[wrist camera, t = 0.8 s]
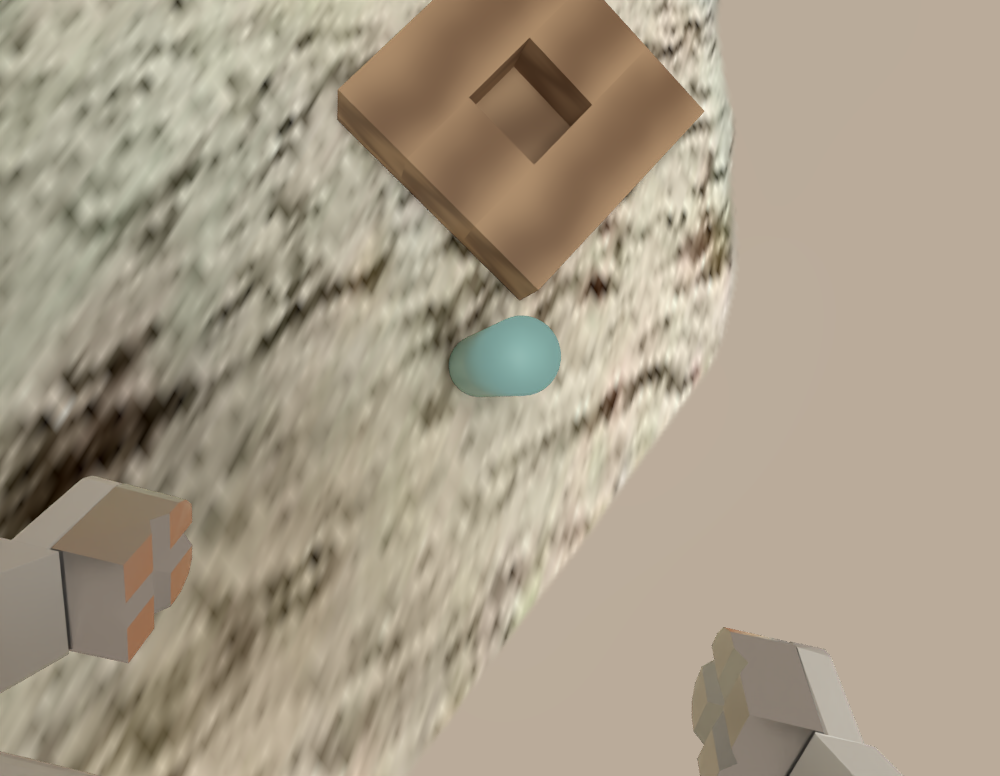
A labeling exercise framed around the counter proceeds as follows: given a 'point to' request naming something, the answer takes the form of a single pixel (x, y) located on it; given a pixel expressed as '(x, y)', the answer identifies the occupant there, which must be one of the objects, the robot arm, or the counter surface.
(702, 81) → the counter surface
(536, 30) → the bore block
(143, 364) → the counter surface
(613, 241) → the counter surface
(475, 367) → the pin
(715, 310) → the counter surface
